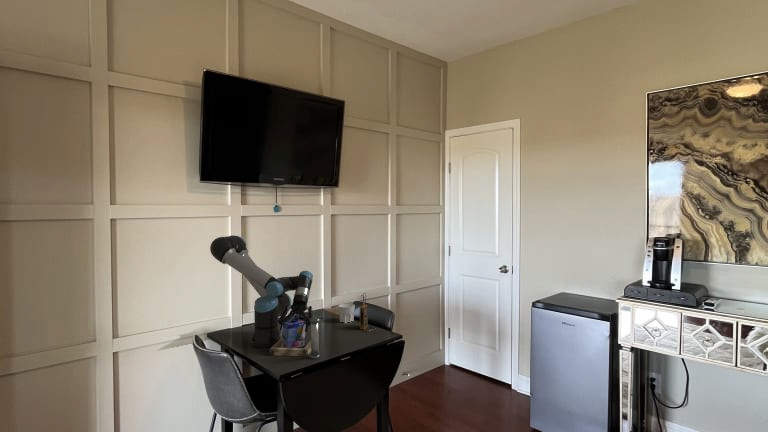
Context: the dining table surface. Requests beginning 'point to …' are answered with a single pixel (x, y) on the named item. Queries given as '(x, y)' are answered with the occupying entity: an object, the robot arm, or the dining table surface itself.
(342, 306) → the cup
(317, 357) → the bobbin post
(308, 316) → the disk drive
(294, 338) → the ink cartridge box
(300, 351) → the notched board
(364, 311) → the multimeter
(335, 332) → the dining table surface
